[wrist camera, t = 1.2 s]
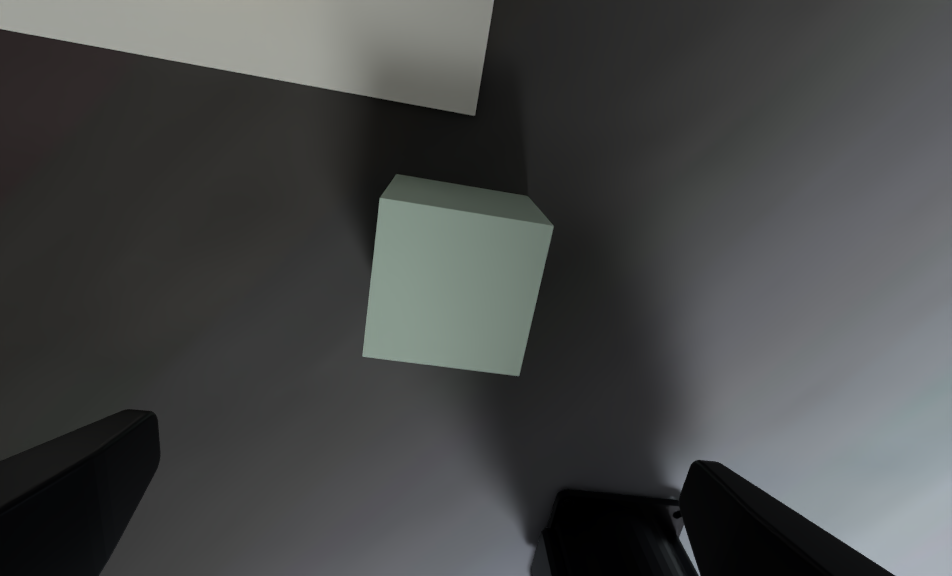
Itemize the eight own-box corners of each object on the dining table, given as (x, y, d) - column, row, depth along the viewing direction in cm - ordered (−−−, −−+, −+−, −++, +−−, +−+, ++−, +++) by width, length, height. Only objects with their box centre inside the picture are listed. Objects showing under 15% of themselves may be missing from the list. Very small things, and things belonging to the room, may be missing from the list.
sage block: (527, 195, 19) (553, 225, 14) (502, 314, 21) (519, 376, 16) (396, 173, 19) (379, 197, 14) (381, 297, 20) (362, 356, 16)
